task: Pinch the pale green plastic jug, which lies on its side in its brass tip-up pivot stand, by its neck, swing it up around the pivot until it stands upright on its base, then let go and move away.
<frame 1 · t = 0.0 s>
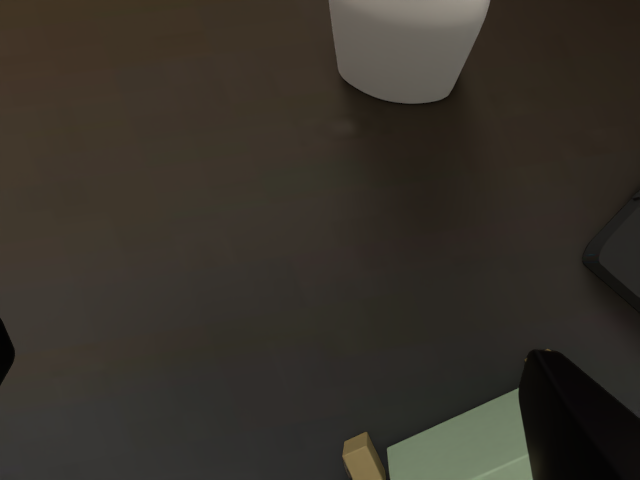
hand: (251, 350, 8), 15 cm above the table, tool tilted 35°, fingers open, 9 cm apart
pivot stand: (453, 415, 22), on the table
eye dropper bottle: (396, 71, 23), on the table
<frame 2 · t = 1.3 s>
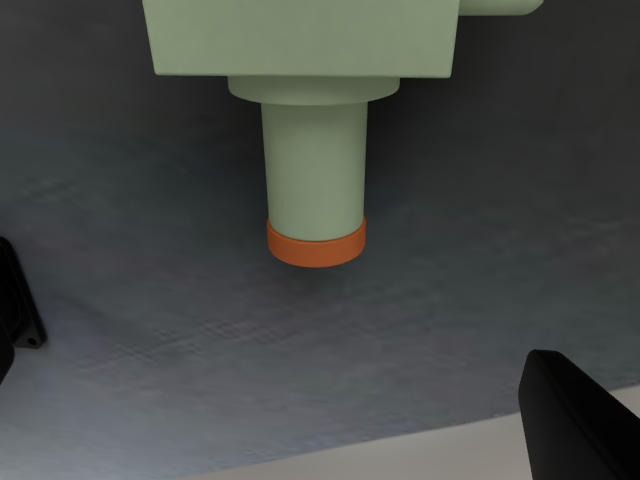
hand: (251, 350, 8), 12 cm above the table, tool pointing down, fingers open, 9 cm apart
jug: (360, 11, 13), point 3 cm above the table, hinge at 90.0°
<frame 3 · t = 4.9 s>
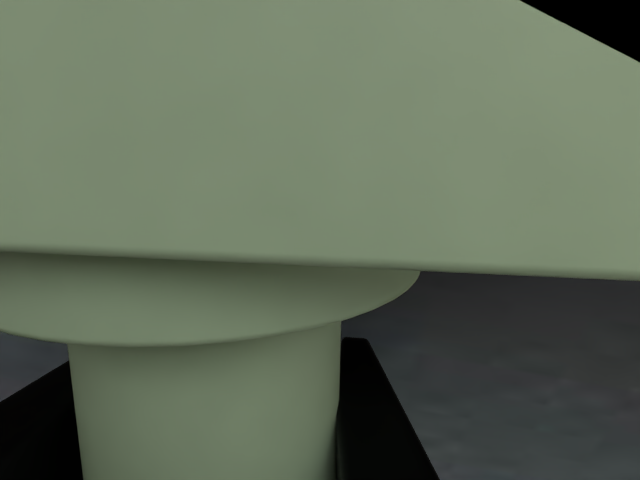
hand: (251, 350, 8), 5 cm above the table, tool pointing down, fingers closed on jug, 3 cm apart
jug: (319, 82, 5), point 5 cm above the table, hinge at 72.8°, touching gripper
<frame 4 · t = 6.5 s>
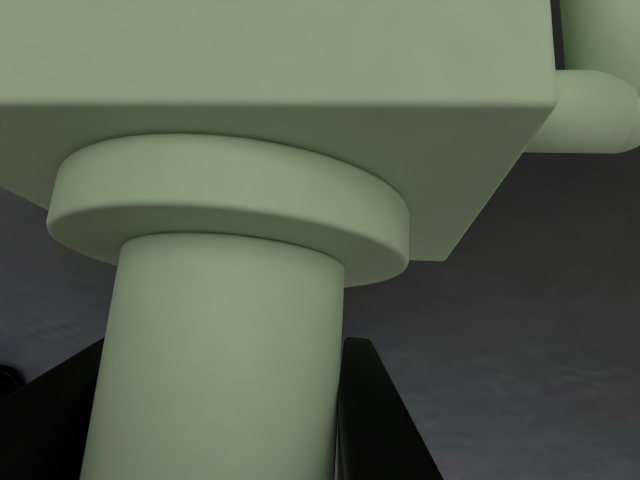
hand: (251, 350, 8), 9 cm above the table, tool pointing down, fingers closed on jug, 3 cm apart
jug: (332, 139, 7), point 7 cm above the table, hinge at 44.0°, touching gripper
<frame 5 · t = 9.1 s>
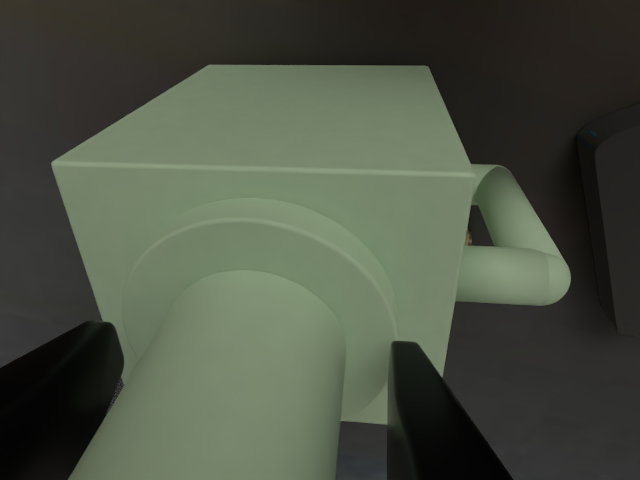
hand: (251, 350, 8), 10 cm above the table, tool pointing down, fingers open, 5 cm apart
jug: (338, 280, 10), point 8 cm above the table, hinge at 1.6°
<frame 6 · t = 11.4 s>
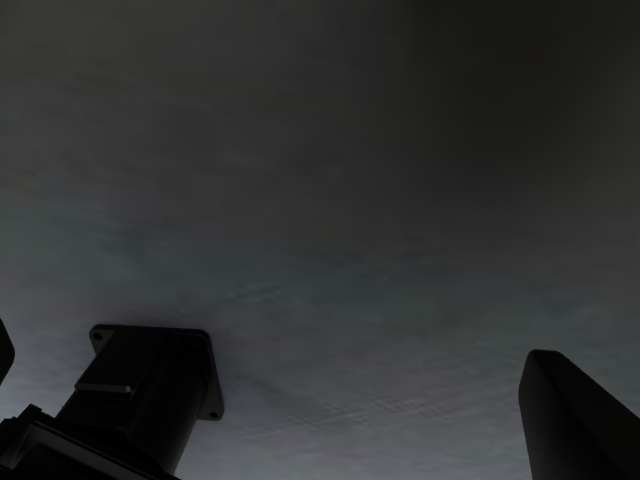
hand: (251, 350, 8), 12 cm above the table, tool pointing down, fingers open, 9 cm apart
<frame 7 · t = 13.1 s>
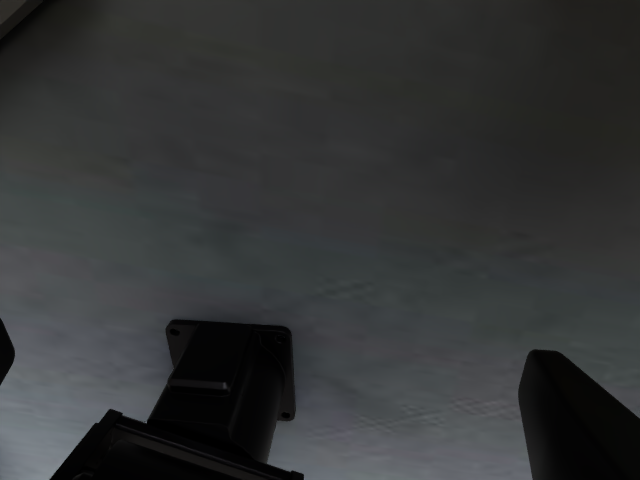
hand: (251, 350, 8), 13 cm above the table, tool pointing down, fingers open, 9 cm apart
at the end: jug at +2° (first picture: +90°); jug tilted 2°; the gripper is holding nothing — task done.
